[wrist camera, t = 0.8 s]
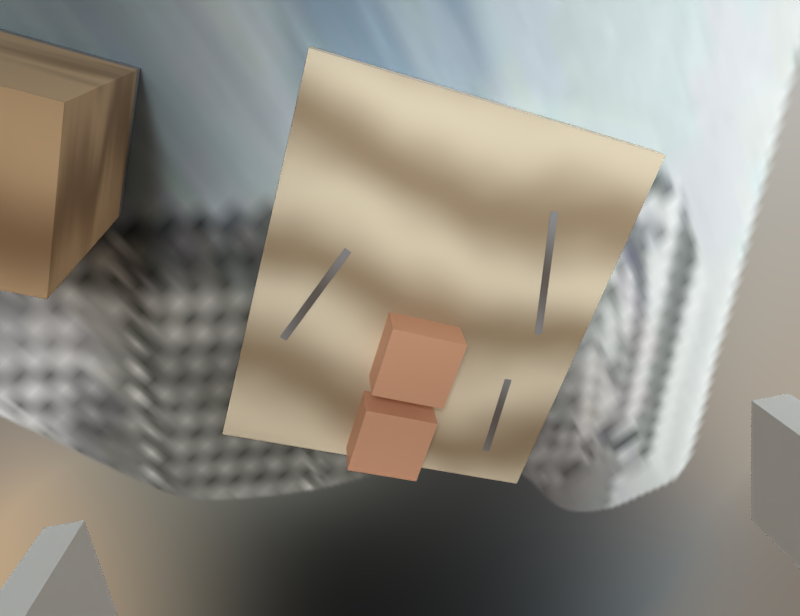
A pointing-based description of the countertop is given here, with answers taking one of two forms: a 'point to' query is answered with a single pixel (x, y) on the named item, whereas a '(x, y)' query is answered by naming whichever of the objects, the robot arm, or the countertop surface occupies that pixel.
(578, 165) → the birch board
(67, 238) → the cardboard box
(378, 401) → the salmon orange square block
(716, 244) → the countertop surface
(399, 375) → the terracotta square block
